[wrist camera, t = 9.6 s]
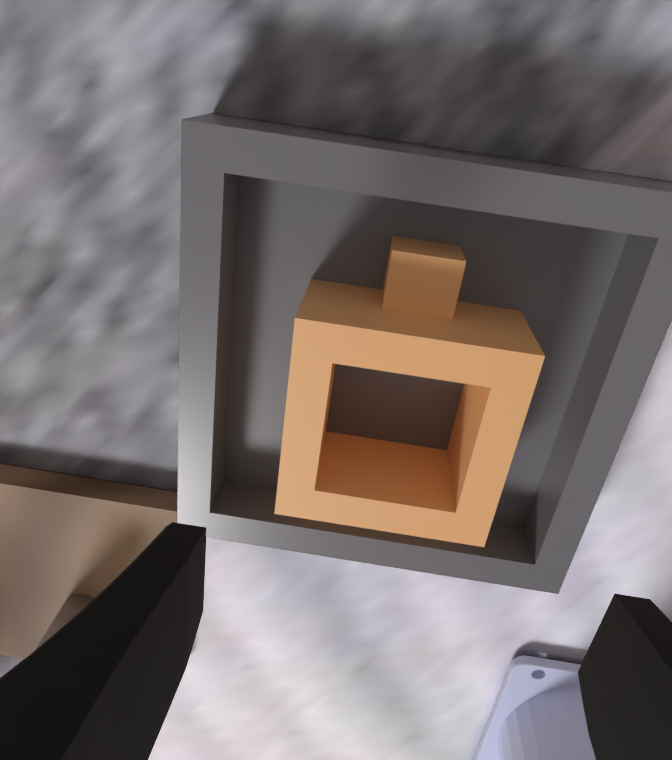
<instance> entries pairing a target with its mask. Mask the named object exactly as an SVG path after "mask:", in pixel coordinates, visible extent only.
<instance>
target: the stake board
mask: <svg viewBox="0 0 672 760" xmlns="http://www.w3.org/2000/svg"><path fill="white" fill-rule="evenodd" d="M177 498H178V492H174V491H167V490H161V489H155V488H149V487H142V486H136V485H130V484H124V483H117V482H111V481H105V480H99V479H92V478H86V477H80V476H74V475H67V474H61V473H55V472H49V471H42V470H36V469H30V468H23V467H17V466H11V465H5V464H0V655H3V656H9V657H15V658H21V659H25V658H26V657H28V656H29V655H30V654H31V653H33V652H34V651H35V650H36V649H37V648H39V647H40V646H41V645H42V644H43V643H44V642H46V641H47V640H48V639H49V638H50V637H51V636H53V635H54V634H55V633H56V632H57V631H58V630H60V629H61V628H62V627H63V626H64V625H65V624H67V623H68V622H69V621H70V620H71V619H72V618H74V617H75V616H76V615H77V614H78V613H79V612H80V611H81V610H83V609H84V608H85V607H86V606H87V605H88V604H89V603H90V602H91V601H92V600H93V599H94V598H95V597H96V596H97V595H99V594H100V593H101V592H102V591H103V590H104V589H105V588H106V587H107V586H108V585H109V584H110V583H111V582H112V581H113V580H114V579H116V578H117V577H118V576H119V575H120V574H121V573H122V572H123V571H124V570H125V569H126V568H127V567H128V566H129V565H130V564H131V563H132V562H133V561H134V560H135V559H136V558H137V557H138V556H139V555H140V553H141V552H142V551H143V550H144V549H145V548H146V547H147V546H148V545H149V544H150V543H151V542H152V541H153V540H154V539H155V538H156V537H157V536H158V535H159V533H160V532H161V531H162V530H163V529H164V528H165V527H166V526H167V525H169V524H170V523H172V522H175V523H177Z"/></svg>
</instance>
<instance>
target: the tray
mask: <svg viewBox="0 0 672 760" xmlns="http://www.w3.org/2000/svg"><path fill="white" fill-rule="evenodd" d="M392 236H398V237H405V238H412V239H418V240H425V241H432V242H438V243H445V244H452V245H458V246H460V247H461V249H462V252H463V254H464V257H465V259H466V265H465V269H464V274H463V278H462V282H461V286H460V291H459V295H458V299H457V301H460V302H467V303H474V304H480V305H487V306H493V307H500V308H506V309H513V310H520V311H521V312H522V314H523V316H524V318H525V320H526V322H527V323H528V325H529V327H530V329H531V331H532V333H533V335H534V336H535V338H536V340H537V342H538V344H539V346H540V348H541V349H542V351H543V353H544V355H545V358H544V361H543V365H542V368H541V371H540V374H539V377H538V380H537V383H536V387H535V390H534V393H533V396H532V399H531V402H530V405H529V408H528V412H527V415H526V418H525V421H524V424H523V427H522V430H521V433H520V437H519V440H518V443H517V446H516V449H515V452H514V455H513V459H512V462H511V465H510V468H509V471H508V474H507V477H506V480H505V484H504V487H503V490H502V493H501V496H500V499H499V502H498V505H497V509H496V512H495V515H494V518H493V521H492V524H491V527H490V531H489V534H488V537H487V540H486V543H485V546H484V547H480V546H473V545H467V544H461V543H454V542H448V541H442V540H436V539H429V538H423V537H417V536H410V535H404V534H398V533H392V532H385V531H379V530H373V529H366V528H360V527H354V526H348V525H341V524H335V523H329V522H322V521H316V520H310V519H304V518H297V517H291V516H285V515H278V514H274V513H275V503H276V494H277V484H278V475H279V465H280V455H281V446H282V436H283V427H284V417H285V408H286V398H287V389H288V379H289V369H290V360H291V350H292V341H293V331H294V322H295V316H296V314H297V311H298V309H299V307H300V304H301V302H302V299H303V297H304V294H305V292H306V289H307V287H308V285H309V282H310V280H311V279H316V280H322V281H329V282H335V283H342V284H348V285H355V286H362V287H368V288H375V289H381V290H383V286H384V280H385V275H386V269H387V263H388V257H389V251H390V246H391V240H392ZM671 321H672V182H671V181H664V180H657V179H651V178H644V177H637V176H630V175H624V174H617V173H610V172H604V171H597V170H590V169H583V168H577V167H570V166H563V165H556V164H550V163H543V162H536V161H530V160H523V159H516V158H509V157H503V156H496V155H489V154H483V153H476V152H469V151H462V150H456V149H449V148H442V147H435V146H429V145H422V144H415V143H409V142H402V141H395V140H388V139H382V138H375V137H368V136H362V135H355V134H348V133H341V132H335V131H328V130H321V129H314V128H308V127H301V126H294V125H288V124H281V123H274V122H267V121H261V120H254V119H247V118H241V117H234V116H227V115H220V114H214V113H211V114H206V115H201V116H196V117H192V118H187V119H182V145H181V233H180V322H179V410H178V498H177V523H181V524H187V525H194V526H200V527H206V537H208V538H214V539H221V540H227V541H233V542H239V543H245V544H252V545H258V546H264V547H270V548H277V549H283V550H289V551H295V552H301V553H308V554H314V555H320V556H326V557H332V558H339V559H345V560H351V561H357V562H364V563H370V564H376V565H382V566H388V567H395V568H401V569H407V570H413V571H419V572H426V573H432V574H438V575H444V576H451V577H457V578H463V579H469V580H475V581H482V582H488V583H494V584H500V585H506V586H513V587H519V588H525V589H531V590H538V591H544V592H550V593H556V594H558V593H559V590H560V588H561V586H562V583H563V581H564V578H565V576H566V574H567V571H568V569H569V566H570V564H571V562H572V559H573V557H574V554H575V552H576V550H577V547H578V545H579V542H580V540H581V537H582V535H583V533H584V530H585V528H586V525H587V523H588V521H589V518H590V516H591V513H592V511H593V509H594V506H595V504H596V501H597V499H598V496H599V494H600V492H601V489H602V487H603V484H604V482H605V480H606V477H607V475H608V472H609V470H610V468H611V465H612V463H613V460H614V458H615V456H616V453H617V451H618V448H619V446H620V443H621V441H622V439H623V436H624V434H625V431H626V429H627V427H628V424H629V422H630V419H631V417H632V415H633V412H634V410H635V407H636V405H637V402H638V400H639V398H640V395H641V393H642V390H643V388H644V386H645V383H646V381H647V378H648V376H649V374H650V371H651V369H652V366H653V364H654V362H655V359H656V357H657V354H658V352H659V349H660V347H661V345H662V342H663V340H664V337H665V335H666V333H667V330H668V328H669V325H670V323H671ZM463 386H464V383H457V382H451V381H444V380H438V379H431V378H425V377H418V376H412V375H405V374H399V373H392V372H386V371H379V370H373V369H366V368H360V367H353V366H347V365H340V364H335V370H334V377H333V384H332V391H331V398H330V405H329V412H328V419H327V426H326V432H333V433H339V434H346V435H352V436H358V437H365V438H371V439H378V440H384V441H390V442H397V443H403V444H410V445H416V446H422V447H429V448H435V449H442V450H447V448H448V444H449V441H450V437H451V433H452V429H453V425H454V421H455V417H456V413H457V409H458V406H459V402H460V398H461V394H462V390H463Z"/></svg>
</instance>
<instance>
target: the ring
mask: <svg viewBox="0 0 672 760" xmlns="http://www.w3.org/2000/svg"><path fill="white" fill-rule="evenodd" d="M465 265H466V259H465V257H464V254H463V252H462V249H461V247H460V246H458V245H452V244H445V243H438V242H432V241H425V240H418V239H412V238H405V237H398V236H392V240H391V246H390V251H389V257H388V263H387V269H386V275H385V280H384V286H383V290H381V289H375V288H368V287H362V286H355V285H348V284H342V283H335V282H329V281H322V280H316V279H311V280H310V282H309V285H308V287H307V289H306V292H305V294H304V297H303V299H302V302H301V304H300V307H299V309H298V311H297V314H296V316H295V322H294V331H293V341H292V350H291V360H290V369H289V379H288V389H287V398H286V408H285V417H284V427H283V436H282V446H281V455H280V465H279V475H278V484H277V494H276V503H275V513H274V514H278V515H285V516H291V517H297V518H304V519H310V520H316V521H322V522H329V523H335V524H341V525H348V526H354V527H360V528H366V529H373V530H379V531H385V532H392V533H398V534H404V535H410V536H417V537H423V538H429V539H436V540H442V541H448V542H454V543H461V544H467V545H473V546H480V547H484V546H485V543H486V540H487V537H488V534H489V531H490V527H491V524H492V521H493V518H494V515H495V512H496V509H497V505H498V502H499V499H500V496H501V493H502V490H503V487H504V484H505V480H506V477H507V474H508V471H509V468H510V465H511V462H512V459H513V455H514V452H515V449H516V446H517V443H518V440H519V437H520V433H521V430H522V427H523V424H524V421H525V418H526V415H527V412H528V408H529V405H530V402H531V399H532V396H533V393H534V390H535V387H536V383H537V380H538V377H539V374H540V371H541V368H542V365H543V361H544V358H545V355H544V353H543V351H542V349H541V348H540V346H539V344H538V342H537V340H536V338H535V336H534V335H533V333H532V331H531V329H530V327H529V325H528V323H527V322H526V320H525V318H524V316H523V314H522V312H521V311H520V310H513V309H506V308H500V307H493V306H487V305H480V304H474V303H467V302H460V301H457V299H458V295H459V291H460V286H461V282H462V278H463V274H464V269H465ZM335 364H340V365H347V366H353V367H360V368H366V369H373V370H379V371H386V372H392V373H399V374H405V375H412V376H418V377H425V378H431V379H438V380H444V381H451V382H457V383H464V386H463V390H462V394H461V398H460V402H459V406H458V409H457V413H456V417H455V421H454V425H453V429H452V433H451V437H450V441H449V444H448V448H447V450H442V449H435V448H429V447H422V446H416V445H410V444H403V443H397V442H390V441H384V440H378V439H371V438H365V437H358V436H352V435H346V434H339V433H333V432H326V426H327V419H328V412H329V405H330V398H331V391H332V384H333V377H334V370H335Z"/></svg>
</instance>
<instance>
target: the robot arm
mask: <svg viewBox="0 0 672 760" xmlns="http://www.w3.org/2000/svg"><path fill="white" fill-rule="evenodd" d="M205 551H206V527H200V526H194V525H187V524H181V523H175V522H172V523H170V524H169V525H167V526H166V527H165V528H164V529H163V530H162V531H161V532H160V533H159V535H158V536H157V537H156V538H155V539H154V540H153V541H152V542H151V543H150V544H149V545H148V546H147V547H146V548H145V549H144V550H143V551H142V552H141V553H140V555H139V556H138V557H137V558H136V559H135V560H134V561H133V562H132V563H131V564H130V565H129V566H128V567H127V568H126V569H125V570H124V571H123V572H122V573H121V574H120V575H119V576H118V577H117V578H116V579H114V580H113V581H112V582H111V583H110V584H109V585H108V586H107V587H106V588H105V589H104V590H103V591H102V592H101V593H100V594H99V595H97V596H96V597H95V598H94V599H93V600H92V601H91V602H90V603H89V604H88V605H87V606H86V607H85V608H84V609H83V610H81V611H80V612H79V613H78V614H77V615H76V616H75V617H74V618H72V619H71V620H70V621H69V622H68V623H67V624H65V625H64V626H63V627H62V628H61V629H60V630H58V631H57V632H56V633H55V634H54V635H53V636H51V637H50V638H49V639H48V640H47V641H46V642H44V643H43V644H42V645H41V646H40V647H39V648H37V649H36V650H35V651H34V652H33V653H31V654H30V655H29V656H28V657H26V658H25V659H24V660H23V661H21V662H20V663H19V664H18V665H16V666H15V667H14V668H13V669H11V670H10V671H9V672H7V673H6V674H5V675H4V676H2V677H1V678H0V760H148V758H149V755H150V753H151V751H152V748H153V746H154V744H155V741H156V739H157V736H158V734H159V732H160V729H161V727H162V724H163V722H164V720H165V717H166V715H167V712H168V710H169V708H170V705H171V703H172V700H173V698H174V696H175V693H176V691H177V688H178V686H179V683H180V681H181V679H182V676H183V674H184V671H185V669H186V666H187V663H188V659H189V656H190V653H191V650H192V646H193V643H194V640H195V636H196V633H197V629H198V626H199V623H200V619H201V616H202V612H203V599H204V575H205ZM473 760H672V622H671V621H670V620H669V619H668V618H667V617H666V616H665V615H664V614H663V613H662V611H661V610H660V609H659V608H658V607H657V606H656V605H655V604H654V603H653V602H652V601H651V600H650V599H644V598H638V597H631V596H625V595H619V594H614V596H613V599H612V601H611V603H610V605H609V607H608V609H607V611H606V613H605V615H604V618H603V620H602V622H601V624H600V626H599V628H598V630H597V632H596V635H595V637H594V639H593V641H592V643H591V645H590V647H589V649H588V651H587V654H586V656H585V658H584V660H583V662H582V664H575V663H569V662H563V661H557V660H550V659H544V658H538V657H532V656H518V657H516V658H514V659H513V660H512V662H511V663H510V666H509V668H508V671H507V674H506V676H505V679H504V681H503V684H502V686H501V689H500V691H499V694H498V696H497V699H496V701H495V704H494V707H493V709H492V712H491V714H490V717H489V719H488V722H487V724H486V727H485V729H484V732H483V734H482V737H481V740H480V742H479V745H478V747H477V750H476V752H475V755H474V757H473Z"/></svg>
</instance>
